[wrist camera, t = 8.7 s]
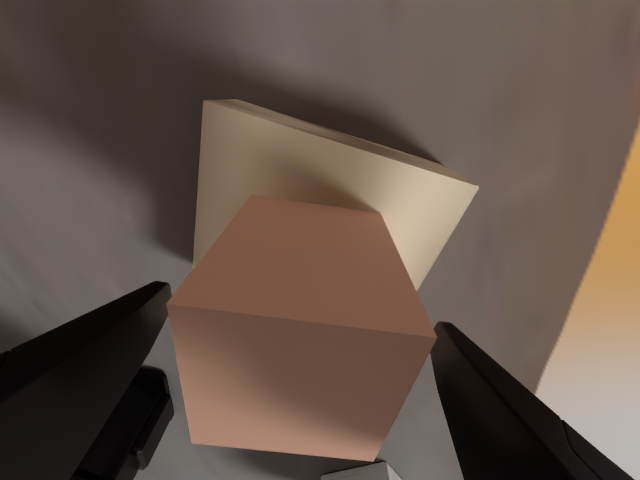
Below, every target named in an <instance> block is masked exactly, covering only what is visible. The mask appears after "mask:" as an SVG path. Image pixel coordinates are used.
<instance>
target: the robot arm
mask: <svg viewBox="0 0 640 480" xmlns="http://www.w3.org/2000/svg"><path fill="white" fill-rule="evenodd" d="M171 297H172V294H171V287H170V284H169V283H167V282H161V281H154V282H152V283H150V284H148V285H145V286H143V287H141V288H139V289H137V290H135V291H133V292H131V293H129V294H126V295H124V296H122V297H120V298H118V299H116V300H114V301H112V302H110V303H107V304H105V305H103V306H101V307H99V308H97V309H95V310H93V311H91V312H88V313H86V314H84V315H82V316H80V317H78V318H76V319H74V320H71V321H69V322H67V323H65V324H63V325H61V326H59V327H57V328H55V329H52V330H50V331H48V332H46V333H44V334H42V335H40V336H38V337H35V338H33V339H31V340H29V341H27V342H25V343H23V344H21V345H19V346H16V347H14V348H12V349H11V351H6V352H4V353H1V354H0V480H133V479H134V477H135V475H136V473H137V471H138V470H144V469H145V468H146V467H147V466H148V464H149V462H150V460H151V458H152V456H153V454H154V452H155V450H156V448H157V446H158V444H159V442H160V440H161V438H162V436H163V434H164V432H165V430H166V428H167V426H168V423H169V421H171V420H172V418H173V416H174V409H173V404H172V399H171V396H170V391H169V386H168V381H167V376H166V375H165V374H164V373H162V372H155V371H147V370H139V368H140V367H141V365H142V364H143V362H144V360H145V359H146V357H147V355H148V354H149V352H150V350H151V348H152V346H153V345H154V342H155V340H156V338H157V336H158V334H159V332H160V330H161V328H162V326H163V324H164V322H165V320H166V318H167V316H168V310H167V305H166V304H167V302H168V301H169V300H170V298H171ZM434 331H435V334H436V336H437V339H436V341H435V343H434V345H433V347H432V349H431V351H430V354H431V359H432V365H433V370H434V375H435V380H436V385H437V390H438V393H439V397H440V400H441V404H442V407H443V410H444V414H445V417H446V420H447V424H448V427H449V431H450V434H451V437H452V441H453V444H454V447H455V451H456V454H457V457H458V461H459V464H460V468H461V471H462V474H463V478H464V480H634V479H633V478H632V477H631V476H629V475H628V474H627V473H626V472H624V471H623V470H622V469H621V468H619V467H618V466H617V465H616V464H615V463H613V462H612V461H611V460H610V459H608V458H607V457H606V456H605V455H603V454H602V453H601V452H600V451H599V450H597V449H596V448H595V447H594V446H593V445H592V444H590V443H589V442H588V441H587V440H585V439H584V438H583V437H582V436H581V435H580V434H579V433H577V432H576V431H575V430H574V429H573V428H572V427H570V426H569V425H568V424H567V423H566V422H565V421H564V420H561V419H560V417H559V416H558V415H557V414H556V413H554V412H553V411H552V410H551V409H550V408H548V407H547V406H546V405H545V404H544V403H543V402H542V401H540V400H539V399H538V398H537V397H536V396H535V395H534V394H533V393H531V392H530V391H529V390H528V389H527V388H526V387H524V386H523V385H522V384H521V383H520V382H519V381H518V380H516V379H515V378H514V377H513V376H512V375H511V374H509V373H508V372H507V371H506V370H505V369H504V368H503V367H501V366H500V365H499V364H498V363H497V362H496V361H494V360H493V359H492V358H491V357H490V356H489V355H488V354H486V353H485V352H484V351H483V350H482V349H481V348H479V347H478V346H477V345H476V344H475V343H474V342H473V341H471V340H470V339H469V338H468V337H467V336H466V335H465V334H463V333H462V332H461V331H460V330H459V329H458V328H456V327H455V326H454V325H453V324H452V323H449V322H442V321H439V322H437V324H436V325H435V327H434Z"/></svg>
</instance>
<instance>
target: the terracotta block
mask: <svg viewBox="0 0 640 480" xmlns="http://www.w3.org/2000/svg"><path fill="white" fill-rule="evenodd" d="M166 305H167V310H168V316H169V321H170V327H171V332H172V338H173V343H174V349H175V354H176V360H177V365H178V371H179V376H180V382H181V387H182V393H183V398H184V404H185V410H186V415H187V421H188V426H189V432H190V437H191V443H194V444H204V445H214V446H223V447H233V448H243V449H253V450H263V451H273V452H283V453H293V454H302V455H312V456H322V457H332V458H342V459H352V460H362V461H371V462H374V460H375V458H376V456H377V454H378V452H379V450H380V448H381V446H382V444H383V442H384V440H385V438H386V436H387V434H388V432H389V431H390V429H391V427H392V425H393V423H394V421H395V419H396V417H397V415H398V413H399V411H400V409H401V407H402V405H403V403H404V401H405V399H406V398H407V396H408V394H409V392H410V390H411V388H412V386H413V384H414V382H415V380H416V378H417V376H418V374H419V372H420V370H421V368H422V366H423V364H424V363H425V361H426V359H427V357H428V355H429V353H430V351H431V349H432V347H433V345H434V343H435V341H436V339H437V336H436V334H435V331H434V329H433V327H432V325H431V323H430V320H429V318H428V316H427V314H426V312H425V309H424V307H423V305H422V303H421V301H420V298H419V296H418V294H417V292H416V290H415V287H414V285H413V283H412V281H411V279H410V276H409V274H408V272H407V270H406V268H405V265H404V263H403V261H402V259H401V257H400V254H399V252H398V250H397V248H396V246H395V244H394V241H393V239H392V237H391V235H390V233H389V230H388V228H387V226H386V224H385V222H384V219H383V217H382V215H381V213H375V212H368V211H362V210H355V209H348V208H341V207H334V206H327V205H320V204H313V203H307V202H300V201H293V200H286V199H279V198H272V197H265V196H258V195H251V196H250V197H249V199H248V200H247V201H246V203H245V204H244V205H243V206H242V208H241V209H240V210H239V211H238V213H237V214H236V215H235V217H234V218H233V219H232V220H231V222H230V223H229V224H228V226H227V227H226V228H225V229H224V231H223V232H222V233H221V235H220V236H219V237H218V238H217V240H216V241H215V242H214V243H213V245H212V246H211V247H210V249H209V250H208V251H207V252H206V254H205V255H204V256H203V258H202V259H201V260H200V261H199V263H198V264H197V265H196V266H195V268H194V269H193V270H192V272H191V273H190V274H189V275H188V277H187V278H186V279H185V281H184V282H183V283H182V284H181V286H180V287H179V288H178V290H177V291H176V292H175V293H174V295H173V296H172V297H171V298H170V300H169V301H168V302H167V304H166Z"/></svg>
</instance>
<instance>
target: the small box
mask: <svg viewBox="0 0 640 480" xmlns="http://www.w3.org/2000/svg"><path fill="white" fill-rule="evenodd" d="M321 480H402V479H401V478H400V477H399V476H398V475H397V474H396V473H395V471H394V470H393V469H392V468H391V467H390V466H389V465H388V463H387V462H380V463H376V464H371V465H366V466H362V467H357V468H352V469H348V470H343V471H339V472H334V473H330V474H325V475H322V476H321Z"/></svg>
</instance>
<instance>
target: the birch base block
mask: <svg viewBox="0 0 640 480" xmlns="http://www.w3.org/2000/svg"><path fill="white" fill-rule="evenodd" d="M478 189H479V186H478V185H476V184H474V183H473V182H471V181H469V180H468V179H466V178H464V177H463V176H461V175H459V174H458V173H456V172H454V171H453V170H451V169H449V168H448V167H446V166H444V165H443V164H440V163H436V162H433V161H430V160H427V159H424V158H421V157H418V156H414V155H411V154H408V153H405V152H402V151H399V150H396V149H392V148H389V147H386V146H383V145H380V144H377V143H373V142H370V141H367V140H364V139H361V138H358V137H355V136H351V135H348V134H345V133H342V132H339V131H336V130H333V129H329V128H326V127H323V126H320V125H317V124H314V123H311V122H307V121H304V120H301V119H298V118H295V117H292V116H289V115H285V114H282V113H279V112H276V111H273V110H270V109H267V108H263V107H260V106H257V105H254V104H251V103H248V102H245V101H241V100H238V99H226V100H203V113H202V129H201V144H200V160H199V175H198V191H197V206H196V222H195V237H194V253H193V268H192V270H193V269H194V268H195V266H196V265H197V264H198V263H199V261H200V260H201V259H202V258H203V256H204V255H205V254H206V252H207V251H208V250H209V249H210V247H211V246H212V245H213V243H214V242H215V241H216V240H217V238H218V237H219V236H220V235H221V233H222V232H223V231H224V229H225V228H226V227H227V226H228V224H229V223H230V222H231V220H232V219H233V218H234V217H235V215H236V214H237V213H238V211H239V210H240V209H241V208H242V206H243V205H244V204H245V203H246V201H247V200H248V199H249V197H250V196H251V195H258V196H265V197H272V198H279V199H286V200H293V201H300V202H307V203H313V204H320V205H327V206H334V207H341V208H348V209H355V210H362V211H368V212H375V213H381V215H382V217H383V219H384V222H385V224H386V226H387V228H388V230H389V233H390V235H391V237H392V239H393V241H394V244H395V246H396V248H397V250H398V252H399V254H400V257H401V259H402V261H403V263H404V265H405V268H406V270H407V272H408V274H409V276H410V279H411V281H412V283H413V285H414V287H415V290H416V292H417V290H418V288H419V287H420V285H421V283H422V282H423V280H424V278H425V277H426V275H427V273H428V272H429V270H430V268H431V267H432V265H433V263H434V262H435V260H436V258H437V257H438V255H439V253H440V252H441V250H442V248H443V247H444V245H445V243H446V242H447V240H448V238H449V237H450V235H451V234H452V232H453V230H454V229H455V227H456V225H457V224H458V222H459V220H460V219H461V217H462V215H463V214H464V212H465V210H466V209H467V207H468V205H469V204H470V202H471V200H472V199H473V197H474V195H475V194H476V192H477V190H478Z"/></svg>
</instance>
